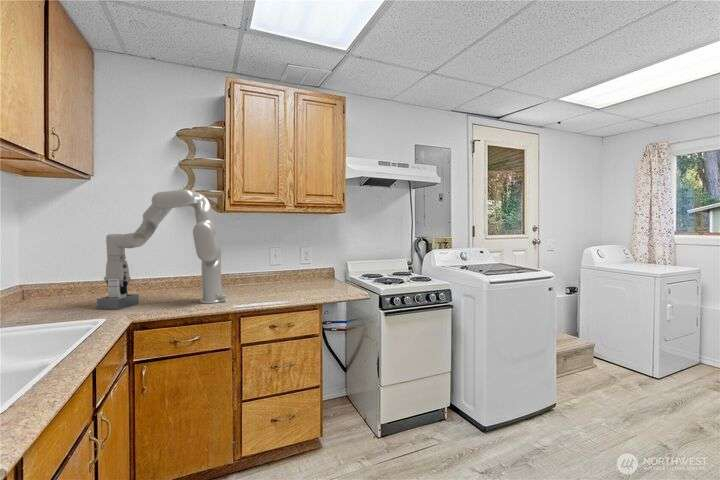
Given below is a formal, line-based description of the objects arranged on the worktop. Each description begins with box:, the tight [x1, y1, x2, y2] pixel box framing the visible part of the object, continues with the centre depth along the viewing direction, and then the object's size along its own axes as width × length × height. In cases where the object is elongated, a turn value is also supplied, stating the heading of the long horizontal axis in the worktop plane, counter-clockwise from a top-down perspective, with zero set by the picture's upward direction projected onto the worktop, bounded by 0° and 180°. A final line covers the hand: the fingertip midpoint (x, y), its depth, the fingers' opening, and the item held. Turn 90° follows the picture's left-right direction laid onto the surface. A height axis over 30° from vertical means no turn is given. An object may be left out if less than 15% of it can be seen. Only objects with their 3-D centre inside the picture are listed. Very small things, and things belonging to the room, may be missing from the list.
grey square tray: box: [96, 293, 140, 311], centre depth 179 cm, size 12×12×5 cm
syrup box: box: [107, 279, 129, 299], centre depth 179 cm, size 6×6×14 cm
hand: (118, 293), depth 178 cm, fingers closed on syrup box, 6 cm apart
